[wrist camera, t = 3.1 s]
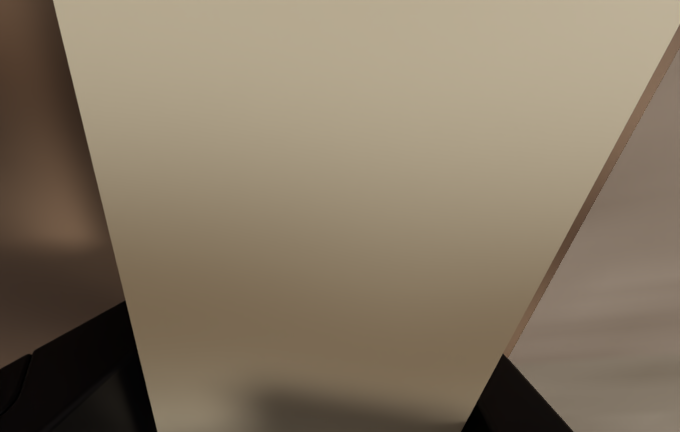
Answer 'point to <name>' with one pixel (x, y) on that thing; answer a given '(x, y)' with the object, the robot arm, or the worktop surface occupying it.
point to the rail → (344, 190)
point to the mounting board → (83, 193)
